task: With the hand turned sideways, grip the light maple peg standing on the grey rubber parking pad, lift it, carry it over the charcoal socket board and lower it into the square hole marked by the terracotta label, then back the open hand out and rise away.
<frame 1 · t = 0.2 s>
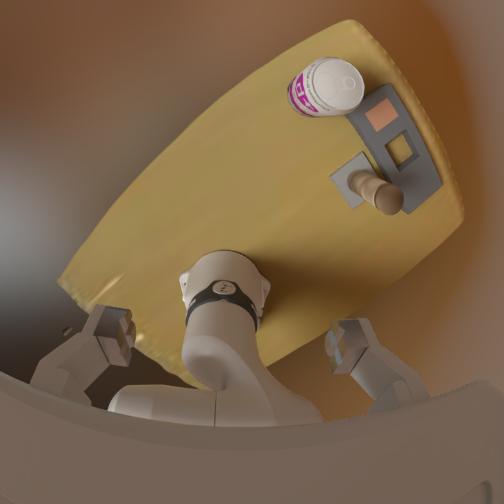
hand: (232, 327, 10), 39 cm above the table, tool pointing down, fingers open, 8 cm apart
supplement can: (309, 95, 40), on the table
maple peg: (357, 181, 47), point 1 cm above the table, touching parking pad
socket board: (396, 149, 44), on the table
parking pad: (356, 180, 47), on the table
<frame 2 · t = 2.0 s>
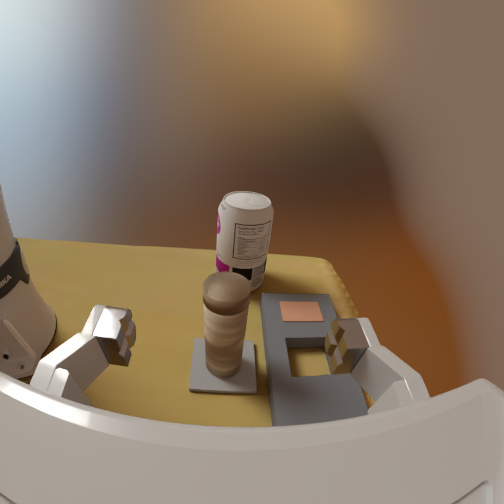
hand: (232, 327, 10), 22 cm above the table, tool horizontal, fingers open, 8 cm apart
supplement can: (239, 280, 48), on the table
maple peg: (223, 363, 32), point 1 cm above the table, touching parking pad
socket board: (307, 365, 33), on the table
parking pad: (223, 366, 32), on the table
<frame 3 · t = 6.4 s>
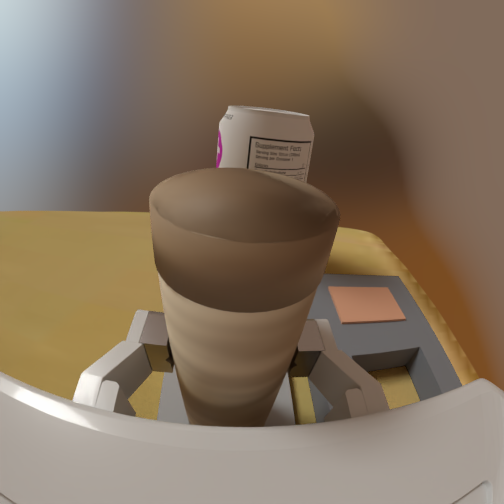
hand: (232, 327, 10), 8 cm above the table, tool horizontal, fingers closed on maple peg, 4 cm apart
supplement can: (251, 257, 29), on the table
maple peg: (226, 416, 13), point 1 cm above the table, touching gripper, parking pad
socket board: (387, 404, 15), on the table
parking pad: (226, 419, 14), on the table
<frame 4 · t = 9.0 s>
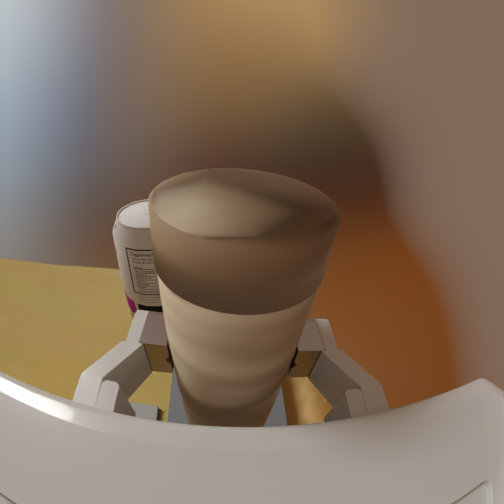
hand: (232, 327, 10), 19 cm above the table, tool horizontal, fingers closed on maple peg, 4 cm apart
supplement can: (161, 314, 35), on the table
maple peg: (226, 417, 13), point 12 cm above the table, touching gripper
socket board: (227, 447, 21), on the table
parking pad: (117, 435, 19), on the table
when the fingers open (9 cm above the table, at t = 11.4 s): maple peg drops 1 cm, resting in socket board.
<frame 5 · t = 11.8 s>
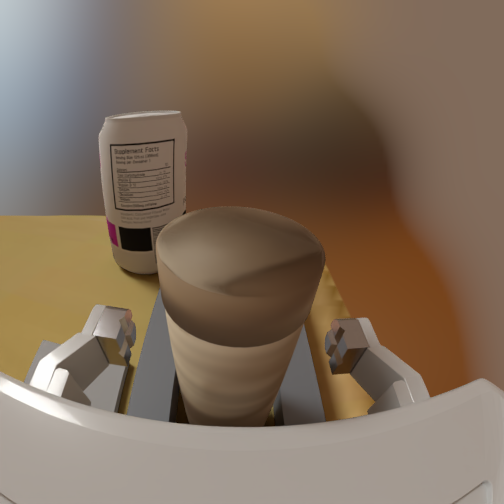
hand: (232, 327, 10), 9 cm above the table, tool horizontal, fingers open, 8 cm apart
supplement can: (150, 256, 28), on the table
maple peg: (225, 424, 14), resting in socket board
socket board: (225, 423, 14), on the table
parking pad: (68, 397, 13), on the table
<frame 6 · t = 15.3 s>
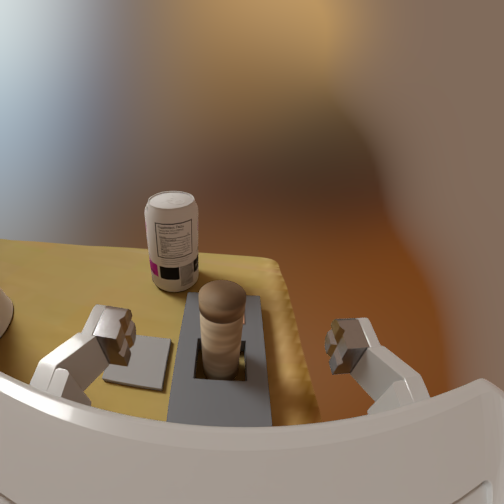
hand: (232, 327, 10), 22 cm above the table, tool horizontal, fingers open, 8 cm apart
supplement can: (175, 280, 46), on the table
maple peg: (220, 369, 32), resting in socket board
socket board: (220, 369, 32), on the table
parking pad: (137, 361, 31), on the table
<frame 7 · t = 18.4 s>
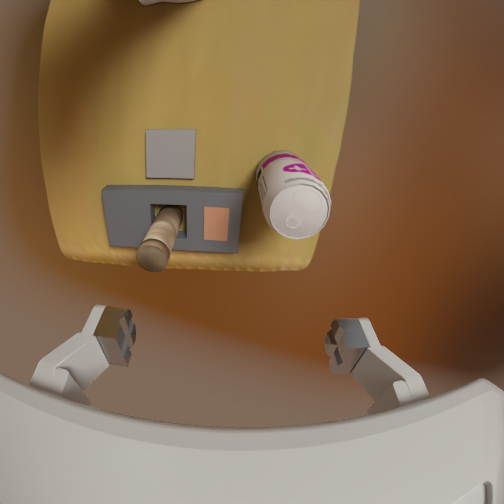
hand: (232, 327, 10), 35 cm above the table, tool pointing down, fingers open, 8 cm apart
supplement can: (280, 173, 43), on the table
maple peg: (171, 215, 45), resting in socket board
socket board: (171, 215, 45), on the table
parking pad: (170, 153, 39), on the table
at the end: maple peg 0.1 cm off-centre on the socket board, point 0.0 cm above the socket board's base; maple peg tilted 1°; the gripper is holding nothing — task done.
